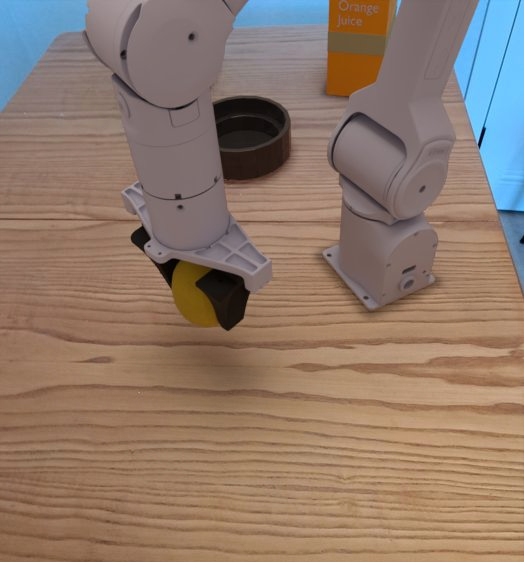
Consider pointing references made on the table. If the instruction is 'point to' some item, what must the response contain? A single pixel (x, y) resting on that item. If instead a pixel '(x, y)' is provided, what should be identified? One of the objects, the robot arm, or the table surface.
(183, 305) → the lemon
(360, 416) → the table surface
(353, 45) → the orange juice
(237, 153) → the bowl
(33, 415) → the table surface
